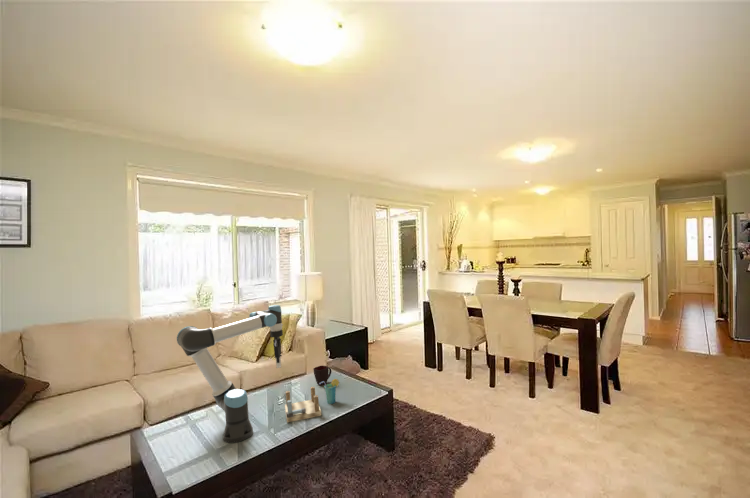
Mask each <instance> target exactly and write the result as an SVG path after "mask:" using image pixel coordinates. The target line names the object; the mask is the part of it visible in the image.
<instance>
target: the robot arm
mask: <svg viewBox="0 0 750 498" xmlns="http://www.w3.org/2000/svg"><path fill="white" fill-rule="evenodd" d="M282 316H283V315H282V308H281V305H280V304H273V305H269V306H268V309H265V310H258V311H253V312H250V313H249V316H248V318H244V319H241V320H239V321H235V322H232V323H228V324H224V325H221V326H218V327H214V328H212V327H207V328H201V329H200V328H197V327H196V326H193V325H189V326H185V327H183V328H181V329H180V330H179V331H178V332H177V336H176V342H177V344H178V345H179V347H181V349H182V350H183V352H184V353H185V355H186V356H187V357H190V358H191V359H192V360H193V361H194V363H195V364H196V367H198V369H199V371H200V372H201V373H202V375H203V377H204V378H205V380H206V382H207V383H208V385H209V387H210V388H211V389H212V393H211V395H212V397H213V399H214V400H215V404H216V405H217V406H218V407H219V408H221V410H222V411H224V414H225V427H224V430H223V434H222V438H223V441H224V442H226V443H231V444H232V443H233V444H235V443H239V442H242V441H246V440H247V439H248V438H250V437H251V436H253V434H254V428H253V425H252V423H251V421H250V418H249V404H248V403H249V401H248V400H249V399H248V394H247V393H248V392H247V391H246V390H245V389H243V388H242V389H241V388H236V386H235V385H234V384H233V381H232V380H227V378H226V376H225V375H224V373H223V372H222V370H221V368H220V366H219V364H218V363H217V362H216V360H215V358H214V357H213V355H212V354H211V352H210V350H209V349H208V348H210V347H214V346H216V344H217V343H219V342H223V341H225V340H229V339H232V338H236V337H238V336H241V335H244V334H247V333H250V332H254V331H257V330H261V329H263V328H266V327H269V334H270V335H269V336H270V337H271V338H273V343H272V344H273V350H274V351H273V352H274V359H275V366H276V369H280V368H282V360H281V359H282V358H281V357H282V356H283V355H282V343H281V342H282V338H281V337H283V335H284V333H283V332H284V331H283V326H284V324H283V321H282V319H283V318H282Z"/></svg>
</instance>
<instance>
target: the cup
mask: <svg viewBox="0 0 750 498" xmlns="http://www.w3.org/2000/svg"><path fill="white" fill-rule="evenodd" d="M321 383H324V384H325V385H323V386H324V389H325V396H326V403H327V404H328V405H332V404H335V403H336V392H337V391H336V389H337V388H338V386H339V384H340V381H339V379H337V378H334V379H332V380H331V383H327V384H326V383H325V382H324V381H322V382H320V383H319V384H321Z"/></svg>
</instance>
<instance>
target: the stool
mask: <svg viewBox="0 0 750 498" xmlns="http://www.w3.org/2000/svg"><path fill="white" fill-rule="evenodd" d="M310 397H311V398H310V399H308V400H303V401H297V402H292V411H294V410H299V409H302V408H306V412H305V413H298V414H293V413H290V414H288V407H287V401H288V400H291V391H290V390H286V391H285V400H286V401H285V402H286V403H285V404H284V411H285V417H286V418H285V419H286V423H290V422H291V423H292V422H296V421H302V420H306V419H311V418H316V417H320V416H322V409H321V407H320V401H319V395H316V388H315V386H311V387H310Z"/></svg>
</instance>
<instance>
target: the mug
mask: <svg viewBox="0 0 750 498" xmlns="http://www.w3.org/2000/svg"><path fill="white" fill-rule="evenodd" d="M312 371H313V375H314V379H315V382H316V384H317V385H318V386H325V384H324V383H321V384H319V383H320V382H322V381H324V382H325V383H326V385H327V384H328V380H329V379H330V377H331V375H332V369H331V367H329V366H328V365H319V366H316V367H314V368H313V369H312Z"/></svg>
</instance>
